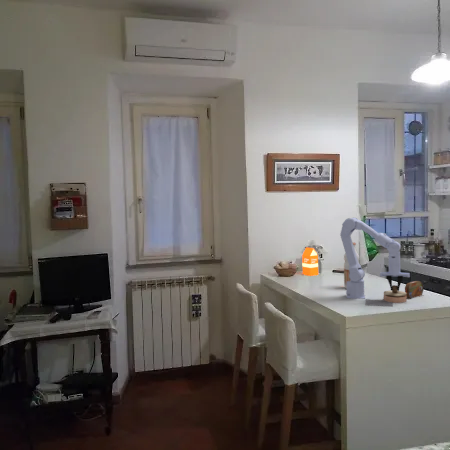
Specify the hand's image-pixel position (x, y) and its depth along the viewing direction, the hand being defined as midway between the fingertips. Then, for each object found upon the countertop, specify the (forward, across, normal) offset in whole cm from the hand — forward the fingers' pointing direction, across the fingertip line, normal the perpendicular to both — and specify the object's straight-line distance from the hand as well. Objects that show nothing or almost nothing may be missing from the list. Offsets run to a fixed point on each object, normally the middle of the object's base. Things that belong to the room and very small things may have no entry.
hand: (394, 290), depth 213 cm
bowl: (+6, 0, 0) cm, 6 cm away
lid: (+2, 0, 0) cm, 2 cm away
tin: (+6, +10, +11) cm, 16 cm away
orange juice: (+6, -55, +72) cm, 91 cm away
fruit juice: (+6, -23, +28) cm, 37 cm away
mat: (+6, -8, -8) cm, 13 cm away
